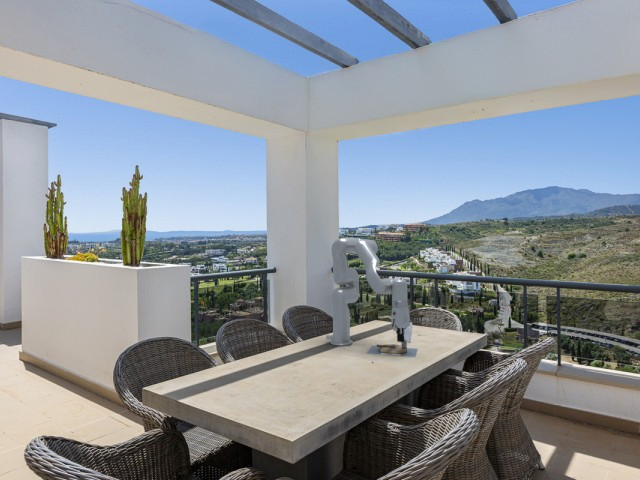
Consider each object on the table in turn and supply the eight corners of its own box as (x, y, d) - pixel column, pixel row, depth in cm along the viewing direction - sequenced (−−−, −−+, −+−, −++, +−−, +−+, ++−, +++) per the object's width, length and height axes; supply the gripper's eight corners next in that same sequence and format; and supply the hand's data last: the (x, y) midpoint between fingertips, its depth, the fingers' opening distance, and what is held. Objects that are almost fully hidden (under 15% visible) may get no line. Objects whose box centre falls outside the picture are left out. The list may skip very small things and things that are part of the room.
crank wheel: (374, 352, 216) (374, 341, 216) (379, 346, 229) (379, 335, 229) (405, 354, 211) (405, 343, 211) (408, 348, 225) (408, 337, 225)
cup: (408, 346, 237) (407, 324, 237) (393, 343, 242) (393, 322, 242) (415, 343, 244) (415, 321, 244) (400, 341, 249) (400, 320, 249)
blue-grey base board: (366, 356, 215) (366, 352, 215) (372, 348, 232) (372, 345, 232) (415, 360, 208) (415, 356, 208) (418, 351, 224) (418, 348, 224)
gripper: (397, 306, 207) (398, 344, 207) (414, 303, 217) (415, 340, 217) (384, 305, 212) (385, 342, 212) (402, 302, 223) (403, 338, 222)
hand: (400, 341), depth 214 cm, fingers closed
